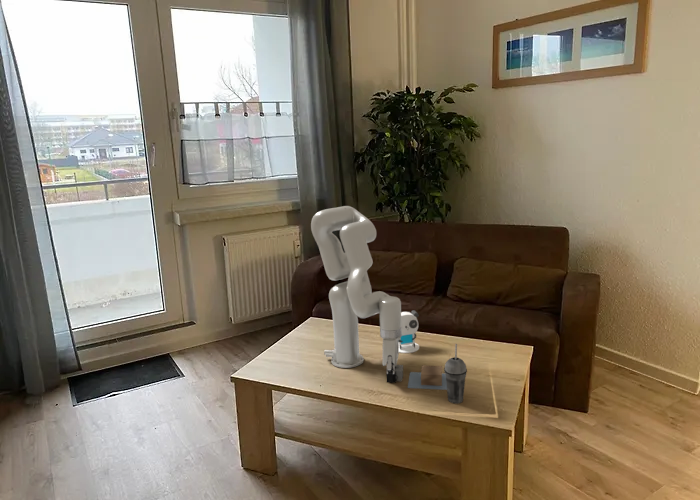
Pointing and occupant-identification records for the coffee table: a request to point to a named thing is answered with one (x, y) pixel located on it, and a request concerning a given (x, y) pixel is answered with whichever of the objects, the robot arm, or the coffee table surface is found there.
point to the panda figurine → (408, 332)
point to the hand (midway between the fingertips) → (392, 378)
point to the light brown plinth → (431, 375)
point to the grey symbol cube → (399, 372)
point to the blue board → (416, 383)
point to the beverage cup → (455, 378)
